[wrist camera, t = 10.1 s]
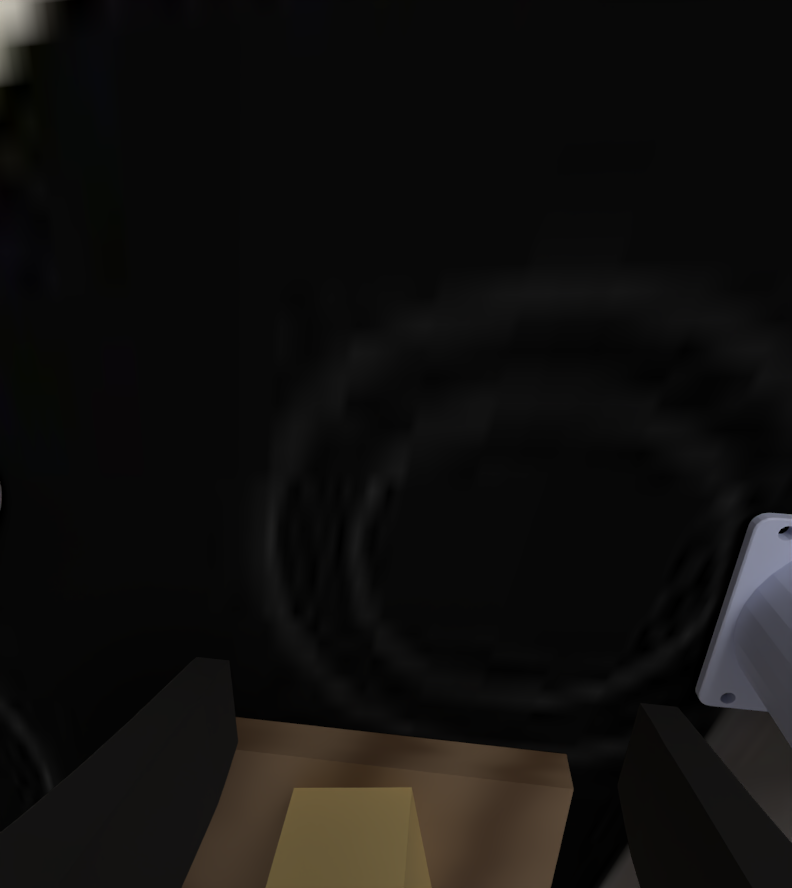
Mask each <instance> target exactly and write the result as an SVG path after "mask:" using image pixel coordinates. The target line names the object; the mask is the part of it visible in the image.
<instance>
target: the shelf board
mask: <svg viewBox="0 0 792 888" xmlns="http://www.w3.org/2000/svg"><path fill="white" fill-rule="evenodd" d="M236 725H237V734H238V744H237V747H236V751H235V754H234V757H233V760H232V763H231V767H230V770H229V773H228V776H227V779H226V782H225V785H224V788H223V791H222V794H221V797H220V800H219V803H218V805H217V808H216V810H215V813H214V815H213V817H212V820H211V822H210V824H209V826H208V829H207V831H206V833H205V836H204V838H203V840H202V843H201V845H200V847H199V849H198V852H197V854H196V856H195V859H194V861H193V863H192V865H191V868H190V870H189V872H188V874H187V877H186V879H185V881H184V883H183V886H182V888H266V884H267V881H268V877H269V874H270V870H271V867H272V863H273V860H274V856H275V853H276V849H277V846H278V842H279V839H280V835H281V832H282V828H283V825H284V821H285V818H286V814H287V811H288V807H289V804H290V800H291V797H292V793H293V790H294V788H398V787H412V791H413V797H414V802H415V807H416V812H417V817H418V822H419V827H420V832H421V837H422V842H423V847H424V852H425V857H426V862H427V867H428V872H429V877H430V882H431V887H432V888H551V884H552V880H553V876H554V871H555V867H556V863H557V858H558V854H559V850H560V846H561V841H562V837H563V833H564V828H565V824H566V820H567V815H568V811H569V807H570V803H571V798H572V794H573V790H574V789H573V784H572V779H571V774H570V770H569V765H568V760H567V755H566V754H560V753H551V752H542V751H533V750H525V749H516V748H507V747H498V746H489V745H480V744H471V743H462V742H453V741H444V740H435V739H426V738H418V737H409V736H400V735H391V734H382V733H373V732H364V731H355V730H346V729H337V728H328V727H319V726H311V725H302V724H293V723H284V722H275V721H266V720H257V719H248V718H239V717H236Z"/></svg>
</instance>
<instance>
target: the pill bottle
mask: <svg viewBox="0 0 792 888" xmlns="http://www.w3.org/2000/svg"><path fill="white" fill-rule="evenodd" d="M1 504H2V489H1V483H0V510H1Z"/></svg>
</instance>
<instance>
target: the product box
mask: <svg viewBox="0 0 792 888" xmlns="http://www.w3.org/2000/svg"><path fill="white" fill-rule="evenodd" d="M266 888H432V887H431V882H430V877H429V872H428V867H427V862H426V857H425V852H424V847H423V842H422V837H421V832H420V827H419V822H418V817H417V812H416V807H415V802H414V797H413V791H412V787H398V788H294V790H293V793H292V797H291V800H290V804H289V807H288V811H287V814H286V818H285V821H284V825H283V828H282V832H281V835H280V839H279V842H278V846H277V849H276V853H275V856H274V860H273V863H272V867H271V870H270V874H269V877H268V881H267V884H266Z"/></svg>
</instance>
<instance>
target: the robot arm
mask: <svg viewBox="0 0 792 888" xmlns="http://www.w3.org/2000/svg"><path fill="white" fill-rule="evenodd" d="M787 526H789V529H788V530H787V531H786V532H784V533H782V534H778V533H779V531H780V530H781V529H782V528H784V527H787ZM695 692H696V694H697V696H698V698H699V700H700V701H701V702H702V703H703V704H705V705H709V706H717V707H726V708H736V709H746V710H756V711H765V712H769V714H770V715H771V717H772V718H773V720H774V721H775V723H776V725H777V726H778V728H779V729H780V731H781V732H782V734H783V735H784V737H785V739H786V740H787V742H788V743H789V745H790V746H791V748H792V514H778V513H763V514H760V515H758V516H756V517H755V518H754V519H752V520H751V522H750V524H749V526H748V529H747V532H746V535H745V538H744V541H743V544H742V547H741V550H740V553H739V556H738V559H737V562H736V565H735V569H734V572H733V575H732V578H731V581H730V584H729V587H728V590H727V593H726V596H725V599H724V602H723V605H722V608H721V611H720V614H719V618H718V621H717V624H716V627H715V630H714V633H713V636H712V639H711V642H710V645H709V648H708V651H707V654H706V657H705V660H704V663H703V667H702V670H701V673H700V676H699V679H698V682H697V685H696V689H695ZM725 693H727V694H725ZM723 694H725V695H723ZM237 744H238V734H237V725H236V716H235V708H234V699H233V690H232V681H231V673H230V664H229V660H219V659H209V658H200V657H196V658H195V659H194V660H193V661H191V662H190V663H189V664H188V665H187V666H186V667H185V668H184V669H183V670H182V671H181V672H180V673H179V674H178V675H177V676H176V677H175V678H174V679H173V680H171V681H170V682H169V683H168V684H167V685H166V686H165V687H164V688H163V689H162V690H161V691H160V692H159V693H158V694H157V695H156V696H155V697H154V698H153V699H152V700H151V701H150V702H149V703H147V704H146V705H145V706H144V707H143V708H142V709H141V710H140V711H139V712H138V713H137V714H136V715H135V716H134V717H133V718H132V719H131V720H130V721H128V722H127V723H126V724H125V725H124V726H123V727H122V728H121V729H120V730H119V731H118V732H116V733H115V734H114V735H113V736H112V737H111V738H110V739H109V740H108V741H107V742H105V743H104V744H103V745H102V746H101V747H100V748H99V749H98V750H97V751H96V752H95V753H93V754H92V755H91V756H90V757H89V758H88V759H87V760H86V761H85V762H83V763H82V764H81V765H80V766H79V767H78V768H77V769H76V770H74V771H73V772H72V773H71V774H70V775H69V776H67V777H66V778H65V779H64V780H63V781H61V782H60V783H59V784H58V785H57V786H56V787H54V788H53V789H52V790H51V791H50V792H49V793H47V794H46V795H45V796H44V797H43V798H41V799H40V800H39V801H38V802H37V803H36V804H34V805H33V806H32V807H31V808H30V809H29V810H27V811H26V812H25V813H24V814H23V815H21V816H20V817H19V818H18V819H16V820H15V821H14V822H13V823H11V824H10V825H9V826H8V827H6V828H5V829H4V830H3V831H1V832H0V888H182V886H183V883H184V881H185V879H186V877H187V874H188V872H189V870H190V868H191V865H192V863H193V861H194V859H195V856H196V854H197V852H198V849H199V847H200V845H201V843H202V840H203V838H204V836H205V833H206V831H207V829H208V826H209V824H210V822H211V820H212V817H213V815H214V813H215V810H216V808H217V805H218V803H219V800H220V797H221V794H222V791H223V788H224V785H225V782H226V779H227V776H228V773H229V770H230V767H231V763H232V760H233V757H234V754H235V751H236V747H237ZM617 787H618V792H619V797H620V803H621V808H622V814H623V819H624V824H625V829H626V834H627V839H628V843H629V848H630V853H631V857H632V860H633V864H634V867H635V871H636V874H637V877H638V881H639V884H640V887H641V888H792V843H791V842H790V841H789V839H788V838H787V837H786V836H785V835H784V834H783V833H782V831H781V830H780V829H779V828H778V827H777V826H776V824H775V823H774V822H773V821H772V820H771V819H770V818H769V816H768V815H767V814H766V813H765V812H764V811H763V809H762V808H761V807H760V806H759V805H758V803H757V802H756V801H755V800H754V799H753V798H752V796H751V795H750V794H749V793H748V792H747V790H746V789H745V788H744V787H743V786H742V784H741V783H740V782H739V781H738V780H737V778H736V777H735V776H734V775H733V774H732V772H731V771H730V770H729V769H728V768H727V766H726V765H725V764H724V763H723V761H722V760H721V759H720V758H719V757H718V755H717V754H716V753H715V752H714V751H713V749H712V748H711V747H710V746H709V744H708V743H707V742H706V741H705V740H704V738H703V737H702V736H701V735H700V733H699V732H698V731H697V730H696V729H695V727H694V726H693V725H692V724H691V723H690V721H689V720H688V719H687V718H686V717H685V715H684V714H683V713H682V712H681V711H680V709H679V708H678V707H674V706H664V705H654V704H645V703H640V705H639V709H638V712H637V716H636V720H635V723H634V727H633V730H632V734H631V738H630V741H629V745H628V748H627V752H626V756H625V759H624V763H623V766H622V770H621V774H620V777H619V781H618V784H617Z"/></svg>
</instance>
